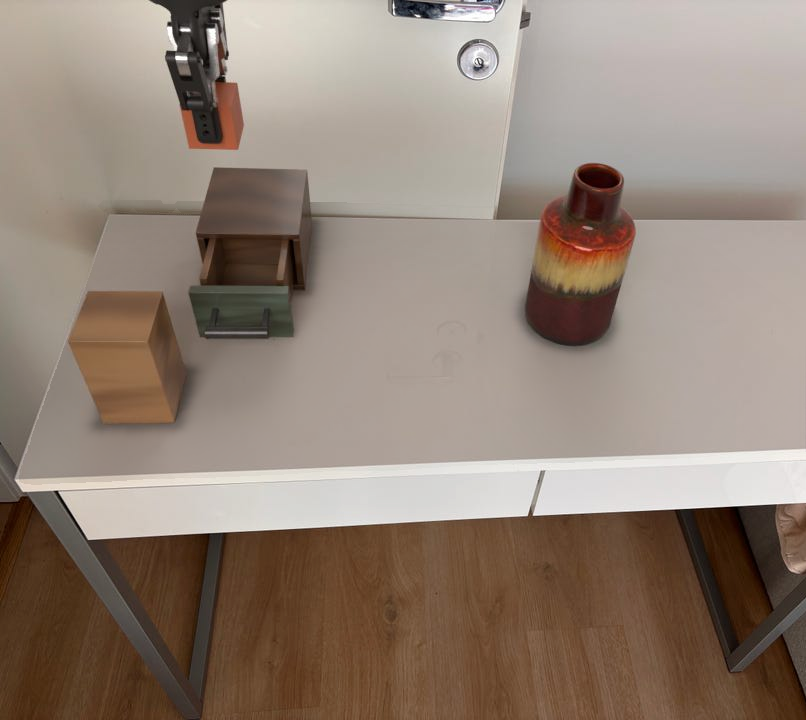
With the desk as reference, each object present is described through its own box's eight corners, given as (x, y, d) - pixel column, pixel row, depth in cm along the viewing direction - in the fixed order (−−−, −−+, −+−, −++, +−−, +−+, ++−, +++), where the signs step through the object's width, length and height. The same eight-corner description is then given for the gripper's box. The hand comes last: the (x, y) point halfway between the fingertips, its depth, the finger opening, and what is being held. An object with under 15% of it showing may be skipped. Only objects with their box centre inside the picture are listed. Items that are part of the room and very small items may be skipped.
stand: (174, 423, 78) (147, 341, 70) (103, 424, 77) (67, 341, 69) (186, 373, 83) (162, 291, 74) (119, 373, 82) (87, 290, 73)
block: (238, 150, 72) (230, 106, 68) (188, 148, 71) (179, 104, 68) (244, 125, 75) (237, 82, 71) (196, 124, 74) (187, 80, 71)
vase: (521, 340, 91) (546, 198, 76) (527, 282, 98) (550, 143, 84) (610, 352, 91) (652, 212, 76) (609, 293, 98) (647, 155, 84)
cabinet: (305, 290, 94) (299, 234, 88) (208, 289, 92) (195, 232, 86) (312, 224, 103) (307, 169, 97) (224, 222, 102) (213, 167, 95)
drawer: (290, 364, 84) (284, 319, 79) (193, 364, 83) (180, 319, 78) (301, 267, 95) (296, 223, 90) (216, 266, 94) (206, 222, 89)
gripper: (147, -101, 64) (187, 89, 77) (105, -38, 54) (159, 168, 67) (238, -95, 65) (263, 92, 77) (213, -32, 55) (246, 170, 68)
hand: (215, 126), depth 72 cm, fingers closed on block, 4 cm apart
